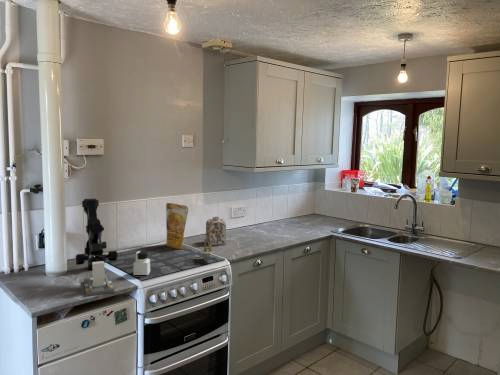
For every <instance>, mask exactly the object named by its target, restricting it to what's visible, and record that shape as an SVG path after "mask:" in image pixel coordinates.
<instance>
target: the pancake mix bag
mask: <svg viewBox="0 0 500 375" xmlns="http://www.w3.org/2000/svg"><path fill="white" fill-rule="evenodd" d="M165 205H166V206H165V209H166V210H165V211H166V212H165V213H166V216H165V217H166V221H165V224H166V226H165V227H166V243H165V244H167V245H166V246H167V247H169V248H173V249H176V250H183V249H184V248H183V240H184V234H185V228H186V223H187V219H188V217H187V216H188V213H189V206H187V205H183V204H177V203H171V202H167V203H165Z"/></svg>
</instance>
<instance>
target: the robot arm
mask: <svg viewBox="0 0 500 375" xmlns="http://www.w3.org/2000/svg"><path fill="white" fill-rule="evenodd" d="M99 204H100V203H99V200H98V199H96V198H84V199H83V200H82V201H81V208H83V212H84V213H85V215H86V218H87V220H86V225H85V233H87V236H88V237H87V238H88V239H87V241H86V244H85V247H84V253H77V254H76V255H75V265H76V266H78V265H84V264H85V262H86V261H87V266H84V269H87V270H89V271H93V269H92V262H100V261H104V264H105V263H106V259H107V260H108V261H109V262H116V261H117V260H118V251H117V250H109V251H108V252H107V253H106V254H105V253H104V249H105V250H106V249H107V241H102V235H103V232H104V231H105V227H104V226H103V224H101V220H100V219H99V218H98V213H97V210H98V207H99V206H100V205H99Z"/></svg>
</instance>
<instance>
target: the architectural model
mask: <svg viewBox="0 0 500 375" xmlns="http://www.w3.org/2000/svg"><path fill="white" fill-rule="evenodd" d="M203 242H204V246H200V247H199V249H200V252H201V253H202V260H203V261H204V262H205V263H206V262H207V263H208V259H209V256H210V255H211V254H214V253H215V249H214V248H213V247H212V246H210V237H209V244H208V246H207V242H206V238H204V239H203ZM207 258H208V259H207Z"/></svg>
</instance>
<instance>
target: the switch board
mask: <svg viewBox="0 0 500 375" xmlns="http://www.w3.org/2000/svg"><path fill="white" fill-rule="evenodd" d="M105 282H106V286H101V287H93V288H92V283H93V277H91V276H90V275H87V276H86V278H83V285H84V291H85V296H86V297H91V296H92V297H93V296H99V295H105V294H106V295H107V294H112V293H115V287H114V284H113V281H112V280H111V276H110V275H107V273H105Z"/></svg>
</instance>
